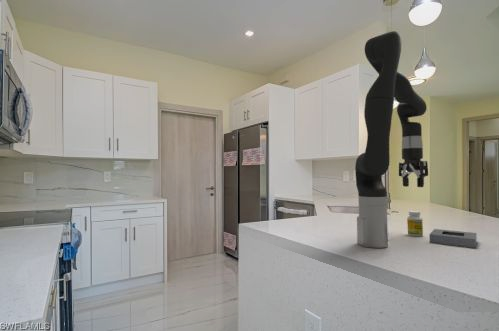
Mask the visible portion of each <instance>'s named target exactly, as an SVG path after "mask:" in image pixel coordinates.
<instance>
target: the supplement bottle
mask: <svg viewBox="0 0 499 331" xmlns="http://www.w3.org/2000/svg"><path fill="white" fill-rule="evenodd" d="M408 215H409V216H407V219H406V220H407V221H406V222H407V235H409V236H411V237H423V235H424V231H423V230H424V229H423V228H424V227H423V218H422V217H421V212H420V211H416V210H409V211H408Z"/></svg>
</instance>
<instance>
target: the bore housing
mask: <svg viewBox="0 0 499 331" xmlns="http://www.w3.org/2000/svg"><path fill="white" fill-rule="evenodd" d="M477 238H478V237H477V232H469V231H458V230H448V229H441V228H440V229H439V228H434V229H433V230H432V231H431V232H430V233H429V243H431V244H438V245H446V246H454V247H455V246H456V247H462V248H471V249H477V242H478V240H477Z"/></svg>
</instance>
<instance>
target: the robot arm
mask: <svg viewBox="0 0 499 331" xmlns="http://www.w3.org/2000/svg"><path fill="white" fill-rule="evenodd" d="M401 54H402V38H401V35H400V33H399V32H398V31H396V30H393V31H388V32H386V33H382V34H379V35H377V36H374V37H372V38H369V39H367V41H366V42H365V45H364V55H365V57H366V59H367V61H368V62H369V64H370V65H371V67H372V68H373V69H374V70H375V72H376V73H377V74H378V76H377V78H376V79H375V81H374V82H373V84H372V85H371V87H370V88H369V90H368V92H367V93H366V96H365V103H364V111H363V114H364V116H363V117H364V122H365V127H366V131H367V132H366V133H367V136H366V138H367V140H366V146H365V151H364V152H363V153H361V154H360V155H358V156H357V158H356V161H355V168H354V169H355V183H356V184H355V185H356V189H357V192H358V216H356V241H357V243H358V244H359V245H360V246H362V247H363V248H374V249H378V248H379V249H382V248H388V246H389V236H388V235H389V234H388V230H389V229H388V204H387V203H388V199H387V196H388V194H387V188H386V187H385V186H384V183H383V177H382V176H383V175H385V174H386V173H387V171H388V170H389V167H390V159H391V158H390V137H391V136H390V135H391V128H392V120H393V111H394V102H395V101H396V102H398V104H397V107H396V114H397V115H398V119H399V123H400V125H401V133H402V134H401V158H402V159H401V160H403V162H399V163H398V176H399V177H401V178H402V186H403V187H406V188H407V187H409V184H410V182H409V180H410V179H409V177H410V175H411V174H412V173H414V174H415V176H416V177H417V178H416V185H417V186H416V187H417V188H424V186H425V177H429V166H428V165H429V164H428V161H427V160H422V159H424V154H423V153H424V151H423V150H424V148H423V146H424V145H423V137H422V136H423V134H422V124H421V123H420V122H417V121H411V120H409V118H415V117H416V118H417V117H420V116H423V115H424V114H425V113H426V112H427V103H426V102H425V100H424V98H422V97H421V96H420V95H419V94H418V93H417V92H416V91H415V90H414V88H413V86H412V83H411V82H410V80H409V78H408V77H407V76H406V75H405V74H403V73H402V72H400V71H399V70H398V68H399V64H400V58H401Z"/></svg>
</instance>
